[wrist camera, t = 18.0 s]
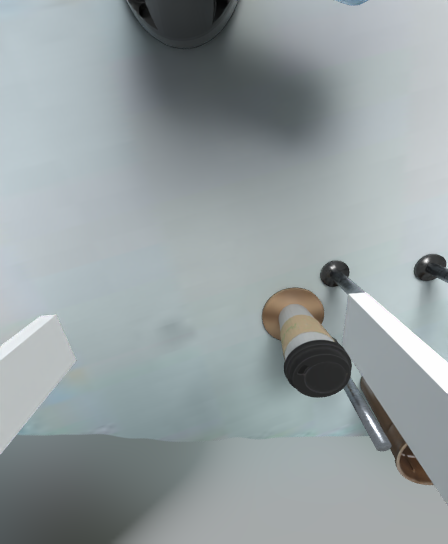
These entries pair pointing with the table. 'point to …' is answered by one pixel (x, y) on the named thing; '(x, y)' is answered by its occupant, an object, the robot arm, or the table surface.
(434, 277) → the pole outer
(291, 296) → the coaster
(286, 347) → the coffee cup
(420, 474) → the plant pot
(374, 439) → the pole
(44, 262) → the table surface
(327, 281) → the pole corner
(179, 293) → the table surface
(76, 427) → the table surface
